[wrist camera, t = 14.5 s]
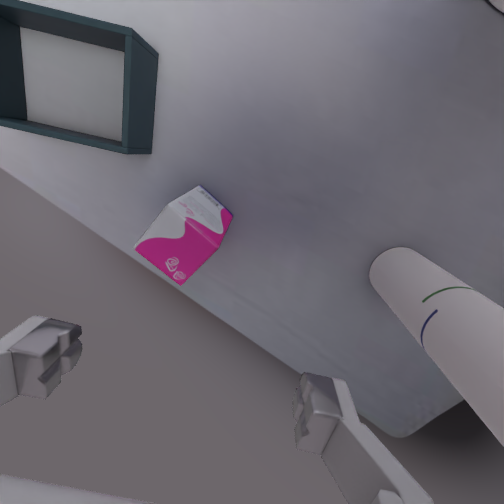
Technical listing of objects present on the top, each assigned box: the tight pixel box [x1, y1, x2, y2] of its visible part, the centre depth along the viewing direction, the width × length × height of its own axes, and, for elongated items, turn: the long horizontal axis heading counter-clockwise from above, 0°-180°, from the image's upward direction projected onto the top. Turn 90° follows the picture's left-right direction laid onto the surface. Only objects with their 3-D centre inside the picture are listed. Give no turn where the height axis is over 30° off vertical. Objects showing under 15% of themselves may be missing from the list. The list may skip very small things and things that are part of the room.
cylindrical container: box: [369, 247, 504, 447], centre depth 24 cm, size 7×7×25 cm
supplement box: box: [133, 185, 233, 286], centre depth 28 cm, size 6×6×12 cm
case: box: [0, 0, 158, 154], centre depth 26 cm, size 15×10×6 cm
